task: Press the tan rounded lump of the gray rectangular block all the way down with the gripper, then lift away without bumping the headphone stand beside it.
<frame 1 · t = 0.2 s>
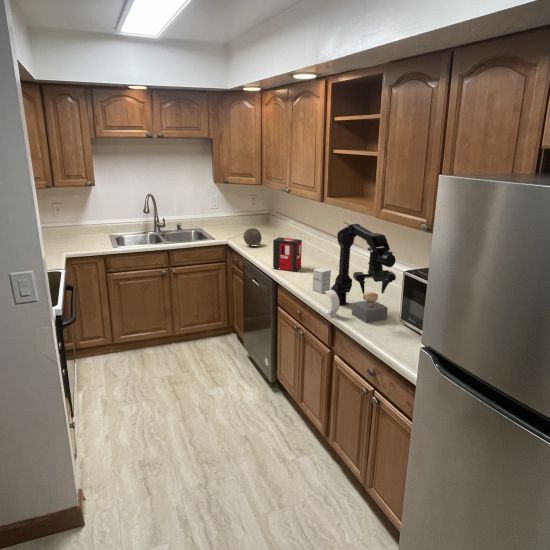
hand: (372, 293, 210), 14 cm above the counter, tool pointing down, fingers open, 9 cm apart
supplement box: (321, 291, 257), on the counter
tan rounded lump: (370, 300, 217), point 9 cm above the counter, slide at 0.0 cm
headphone stand: (331, 315, 221), on the counter
cleaning product box: (287, 269, 299), on the counter
gray rectangular block: (368, 316, 219), on the counter
spherical smart speaker: (252, 247, 361), on the counter
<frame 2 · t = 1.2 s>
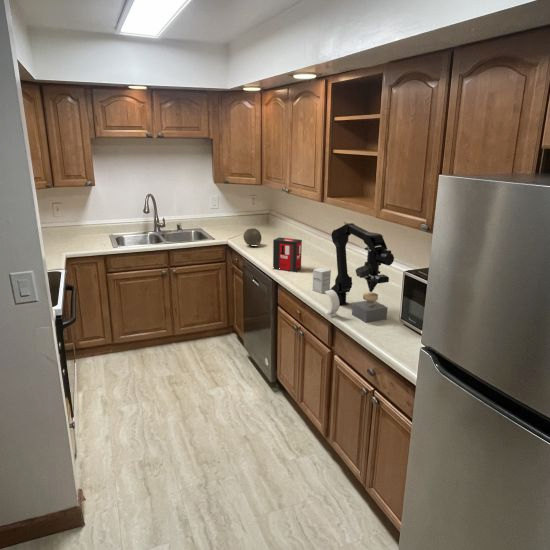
hand: (370, 291, 215), 13 cm above the counter, tool pointing down, fingers closed
nothing on the counter moved.
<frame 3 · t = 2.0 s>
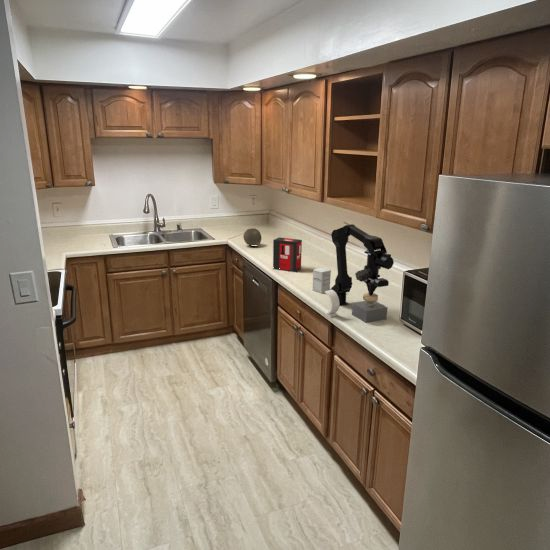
hand: (370, 295, 216), 11 cm above the counter, tool pointing down, fingers closed, pressing on tan rounded lump
tan rounded lump: (370, 301, 217), point 8 cm above the counter, slide at 0.3 cm, touching gripper
everything else where it was.
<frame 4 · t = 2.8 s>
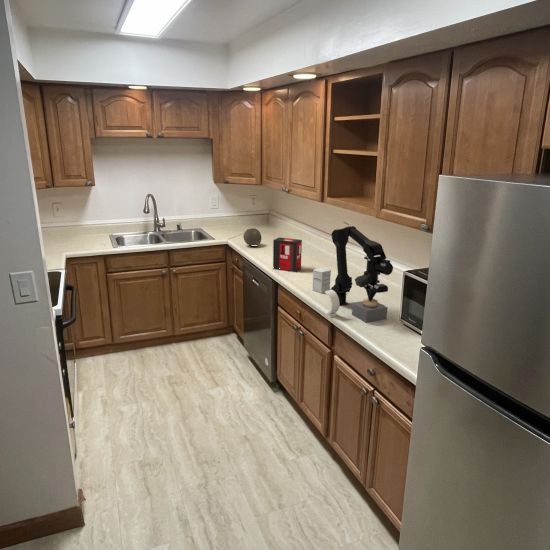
hand: (370, 300, 217), 8 cm above the counter, tool pointing down, fingers closed, pressing on tan rounded lump
tan rounded lump: (369, 306, 217), point 5 cm above the counter, slide at 3.1 cm, touching gripper
everything else where it was.
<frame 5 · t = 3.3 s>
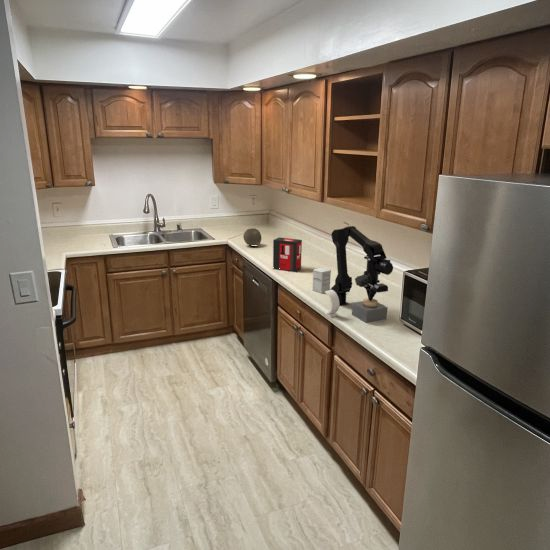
hand: (370, 300, 217), 9 cm above the counter, tool pointing down, fingers closed
tan rounded lump: (369, 306, 217), point 5 cm above the counter, slide at 3.1 cm
everything else where it was.
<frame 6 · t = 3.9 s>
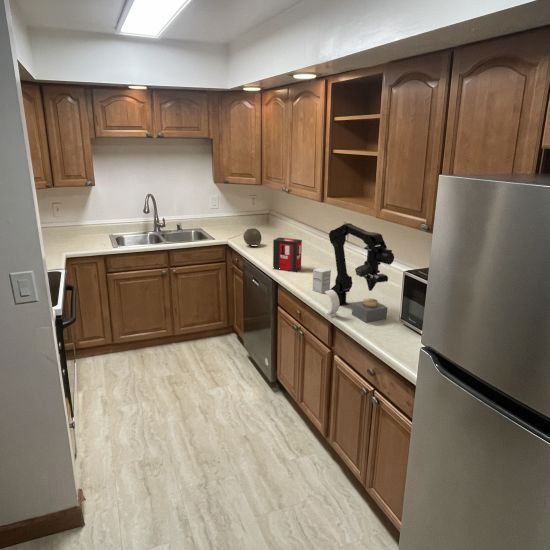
hand: (370, 290, 218), 13 cm above the counter, tool pointing down, fingers closed
nothing on the counter moved.
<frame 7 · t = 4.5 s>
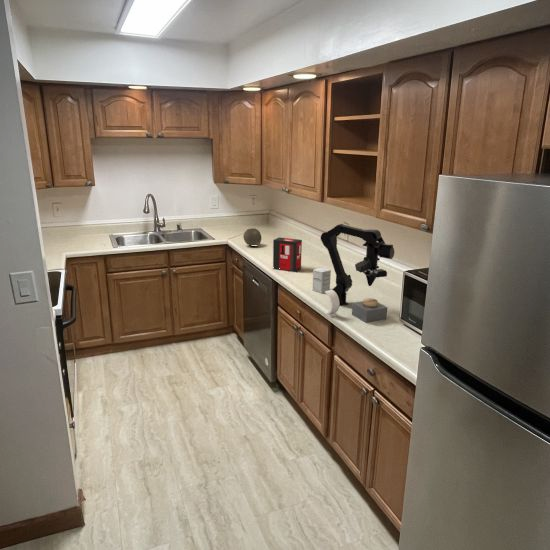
hand: (369, 285, 224), 13 cm above the counter, tool pointing down, fingers closed
nothing on the counter moved.
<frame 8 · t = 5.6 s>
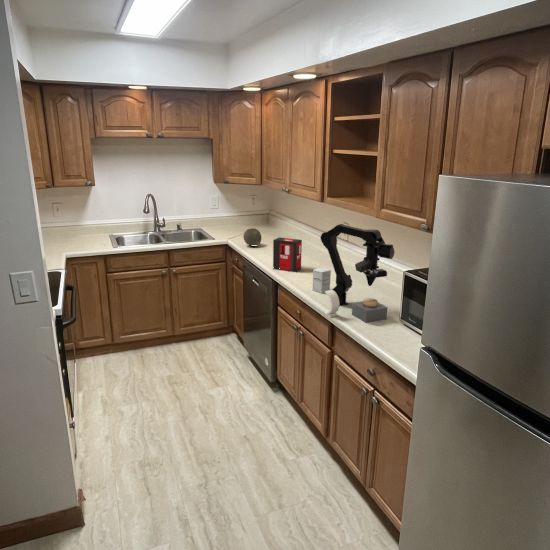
hand: (369, 285, 224), 13 cm above the counter, tool pointing down, fingers closed
nothing on the counter moved.
at the end: tan rounded lump slide at 3.1 cm; headphone stand moved 0.2 cm from its start; headphone stand tilted 0° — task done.
